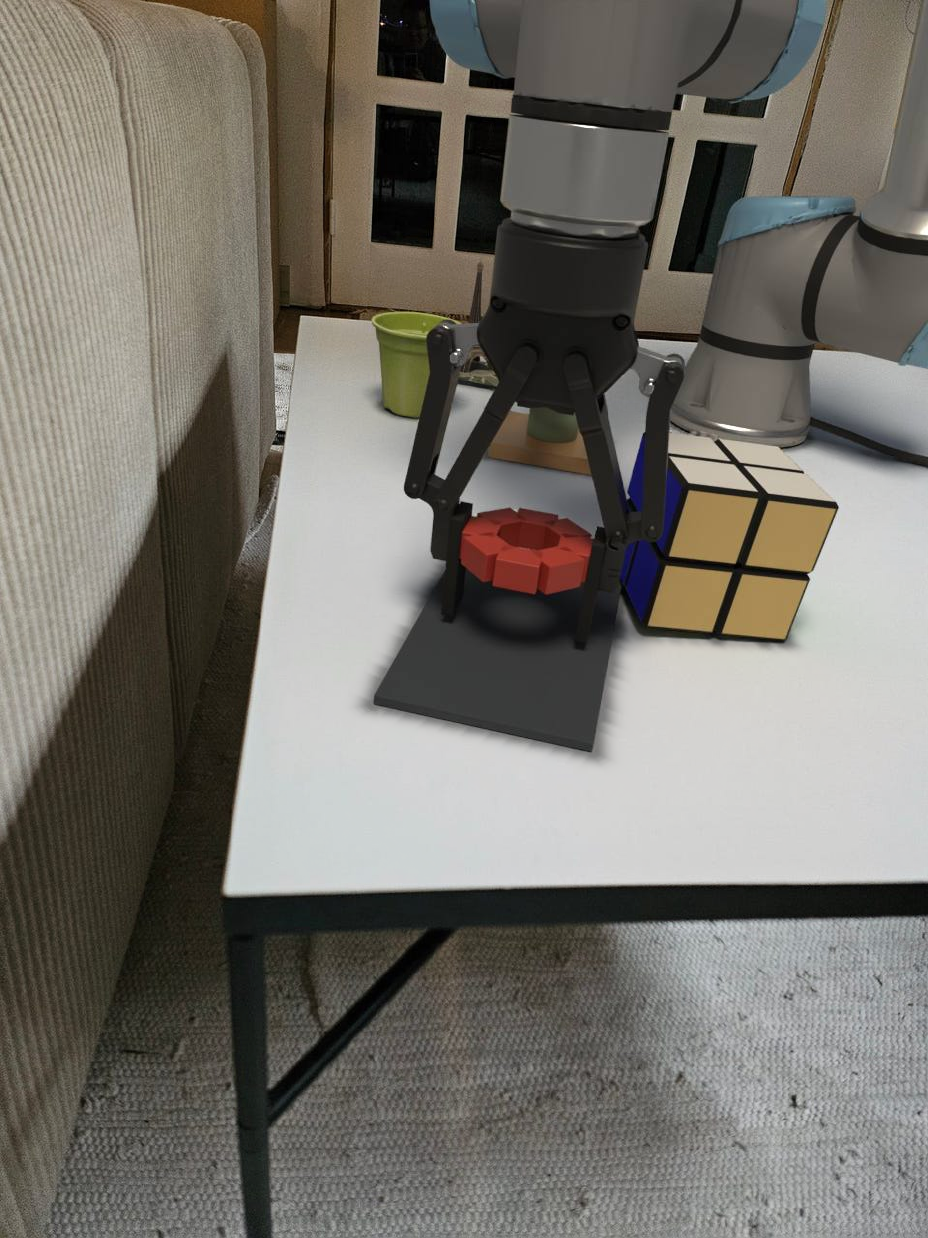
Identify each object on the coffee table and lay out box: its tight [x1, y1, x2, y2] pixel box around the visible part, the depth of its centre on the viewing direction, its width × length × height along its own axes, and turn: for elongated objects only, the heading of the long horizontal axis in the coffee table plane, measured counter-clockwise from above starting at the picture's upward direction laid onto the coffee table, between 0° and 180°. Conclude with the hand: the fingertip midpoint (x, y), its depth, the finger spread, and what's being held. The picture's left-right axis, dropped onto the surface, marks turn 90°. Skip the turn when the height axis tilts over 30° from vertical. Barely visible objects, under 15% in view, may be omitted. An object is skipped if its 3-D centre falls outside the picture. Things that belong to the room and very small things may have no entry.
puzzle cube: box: [620, 431, 840, 642], centre depth 60 cm, size 10×10×10 cm
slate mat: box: [373, 568, 623, 752], centre depth 57 cm, size 12×20×1 cm, turn 167°
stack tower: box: [487, 407, 592, 476], centre depth 84 cm, size 10×10×13 cm
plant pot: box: [371, 311, 463, 419], centre depth 91 cm, size 9×9×9 cm
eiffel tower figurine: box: [458, 252, 499, 388], centre depth 104 cm, size 15×10×13 cm
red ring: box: [459, 507, 594, 595], centre depth 54 cm, size 8×8×2 cm
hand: (516, 618), depth 56 cm, fingers closed on red ring, 8 cm apart
